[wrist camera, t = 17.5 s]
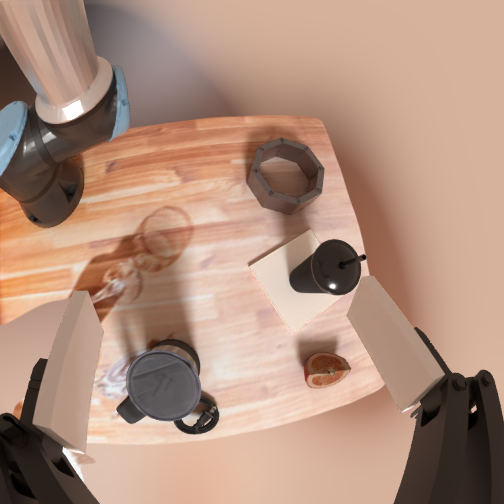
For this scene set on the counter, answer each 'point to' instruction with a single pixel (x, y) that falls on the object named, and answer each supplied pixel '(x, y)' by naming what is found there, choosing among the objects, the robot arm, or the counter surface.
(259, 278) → the coaster
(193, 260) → the counter surface
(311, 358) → the fruit slice
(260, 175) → the grey octagonal ring
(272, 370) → the counter surface
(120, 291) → the counter surface
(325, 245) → the drinking cup
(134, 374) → the milk frother
